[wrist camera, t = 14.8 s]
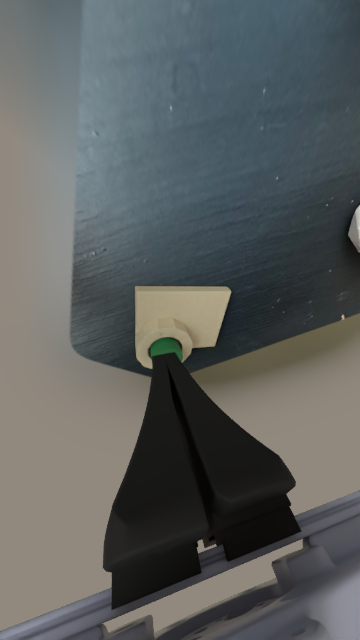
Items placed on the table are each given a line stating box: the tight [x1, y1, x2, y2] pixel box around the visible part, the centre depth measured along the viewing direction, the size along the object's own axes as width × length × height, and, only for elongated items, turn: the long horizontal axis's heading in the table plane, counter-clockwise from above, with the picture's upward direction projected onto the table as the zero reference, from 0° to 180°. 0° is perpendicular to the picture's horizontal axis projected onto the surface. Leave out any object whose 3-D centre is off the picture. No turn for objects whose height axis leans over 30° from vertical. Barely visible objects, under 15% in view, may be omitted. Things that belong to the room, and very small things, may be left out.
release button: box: [150, 337, 183, 362], centre depth 21 cm, size 3×3×2 cm
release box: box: [135, 286, 231, 369], centre depth 22 cm, size 10×9×3 cm
